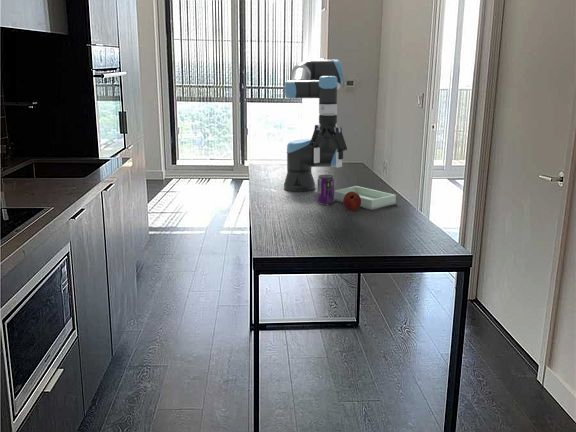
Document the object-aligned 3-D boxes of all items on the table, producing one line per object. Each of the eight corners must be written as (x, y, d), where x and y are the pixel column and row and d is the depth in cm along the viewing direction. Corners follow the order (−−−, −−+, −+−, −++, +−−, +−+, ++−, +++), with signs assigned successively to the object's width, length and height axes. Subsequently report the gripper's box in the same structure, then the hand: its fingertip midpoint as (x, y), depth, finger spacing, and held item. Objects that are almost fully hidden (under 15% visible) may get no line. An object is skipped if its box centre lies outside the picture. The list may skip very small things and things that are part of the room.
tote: (332, 199, 249) (332, 190, 248) (356, 194, 258) (356, 185, 257) (371, 209, 231) (371, 200, 230) (395, 203, 240) (395, 194, 239)
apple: (340, 211, 229) (340, 192, 226) (345, 207, 235) (345, 188, 233) (358, 213, 226) (358, 194, 224) (362, 208, 233) (363, 190, 231)
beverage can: (332, 205, 239) (333, 177, 236) (316, 204, 240) (316, 177, 237) (334, 201, 245) (335, 174, 242) (318, 200, 247) (318, 174, 244)
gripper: (301, 113, 240) (301, 162, 245) (343, 117, 221) (342, 170, 227) (314, 111, 244) (314, 160, 250) (356, 115, 226) (355, 167, 232)
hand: (327, 164), depth 238 cm, fingers open, 13 cm apart
